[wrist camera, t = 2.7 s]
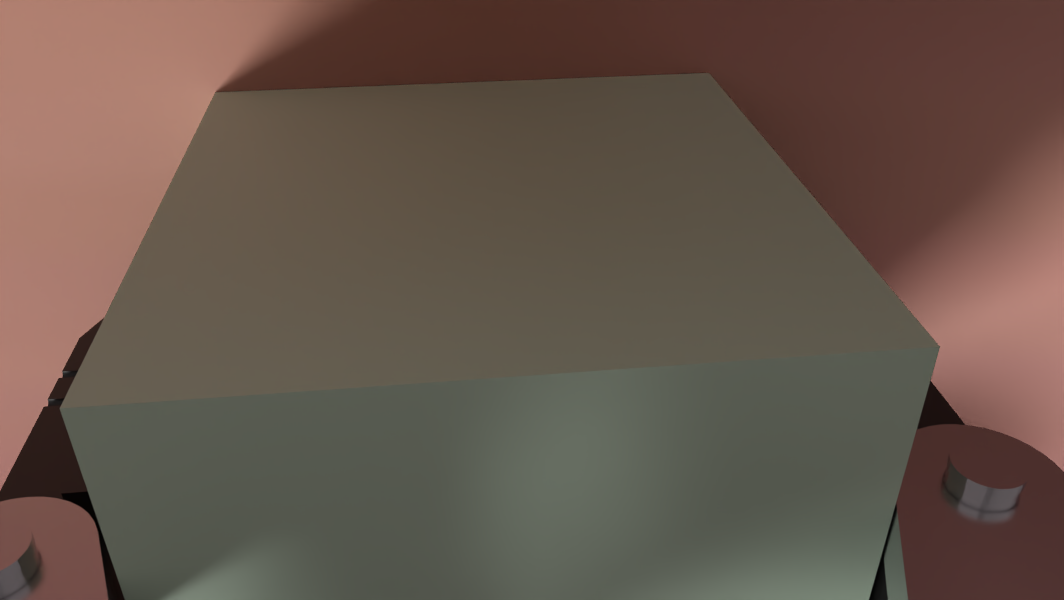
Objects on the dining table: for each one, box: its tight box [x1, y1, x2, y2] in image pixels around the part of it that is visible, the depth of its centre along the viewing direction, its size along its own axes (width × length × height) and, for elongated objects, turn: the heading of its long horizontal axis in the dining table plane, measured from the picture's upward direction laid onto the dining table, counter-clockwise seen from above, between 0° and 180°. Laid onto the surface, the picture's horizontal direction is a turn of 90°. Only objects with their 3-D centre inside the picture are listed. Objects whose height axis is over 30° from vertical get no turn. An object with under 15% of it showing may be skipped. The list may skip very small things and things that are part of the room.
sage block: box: [60, 73, 940, 600], centre depth 9 cm, size 5×5×5 cm
